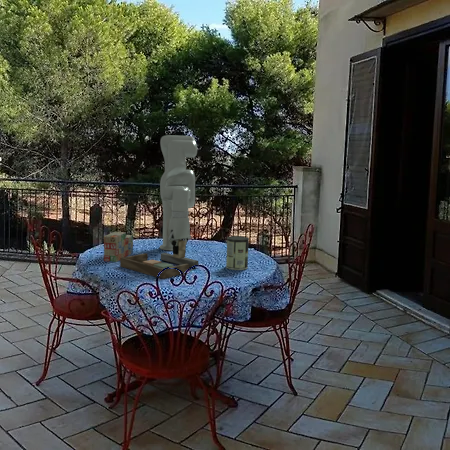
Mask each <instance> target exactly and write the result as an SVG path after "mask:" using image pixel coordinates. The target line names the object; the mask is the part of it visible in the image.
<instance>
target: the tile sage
mask: <svg viewBox="0 0 450 450" xmlns="http://www.w3.org/2000/svg"><path fill="white" fill-rule="evenodd" d="M154 266H155V267H159V268H163V269H164V268H167V267H174V264H173V263H171V264H170V263H169V262H166V261H165V262H162V263H158V264H154Z"/></svg>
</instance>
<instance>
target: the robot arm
mask: <svg viewBox="0 0 450 450" xmlns="http://www.w3.org/2000/svg"><path fill="white" fill-rule="evenodd" d="M160 150H161V152H162V155H163V159H164V172H163V174H162V175H161V177H160V182H159V186H160V187H159V188H160V189H159V191H160V192H159V193H160V199H161V202H162V214H163V215H162V216H163V217H162V244H161V245H159V249H160V250H162V251H163V250H164V251H170V252H172V255H173V254H177V255H178V250H179V246H178V240H179V239H181V240H186V244H185V254H186V252H187V251H186V249H187V245H188V241H189V240H190V239H191V238H192V235H191V234H190V233H191V228H190V227H191V226H190V225H191V224H190V217H189V214H190V212H189V209H191V208H194V206H195V203H196V176H195V172H194V171H193V170H192V169H187V161H186V158H195V157H196V156H197V154H198V145H197V142H196V140H195V138H194V137H193V136H191V135H177V134H176V135H173V134H172V135H171V134H168V135H163V136H161V137H160ZM175 240H176V242H175Z"/></svg>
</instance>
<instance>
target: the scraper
mask: <svg viewBox="0 0 450 450" xmlns="http://www.w3.org/2000/svg"><path fill="white" fill-rule="evenodd" d="M175 242H176V240H175ZM185 244H186V240H184V239H183V240H181V239H179V240H178V246H179V250H178V255H177V254H173V253H168V252H162V253H160V261H165V262H166V263H171V264H176V265H183V264H189V268H191V267H192V266H194V265H198V266H199V260H197V259H193V258H188V257H186V253H185ZM186 245H187V244H186Z"/></svg>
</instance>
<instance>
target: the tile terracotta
mask: <svg viewBox="0 0 450 450" xmlns="http://www.w3.org/2000/svg"><path fill="white" fill-rule="evenodd" d="M143 263H144V264H148V265H152V266H154V264H158V263H163V262H162V260H156V259H149V260H148V261H143Z"/></svg>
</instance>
